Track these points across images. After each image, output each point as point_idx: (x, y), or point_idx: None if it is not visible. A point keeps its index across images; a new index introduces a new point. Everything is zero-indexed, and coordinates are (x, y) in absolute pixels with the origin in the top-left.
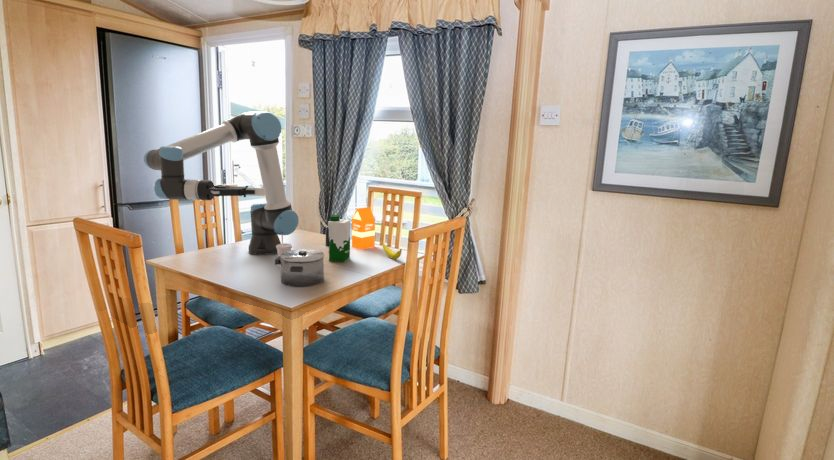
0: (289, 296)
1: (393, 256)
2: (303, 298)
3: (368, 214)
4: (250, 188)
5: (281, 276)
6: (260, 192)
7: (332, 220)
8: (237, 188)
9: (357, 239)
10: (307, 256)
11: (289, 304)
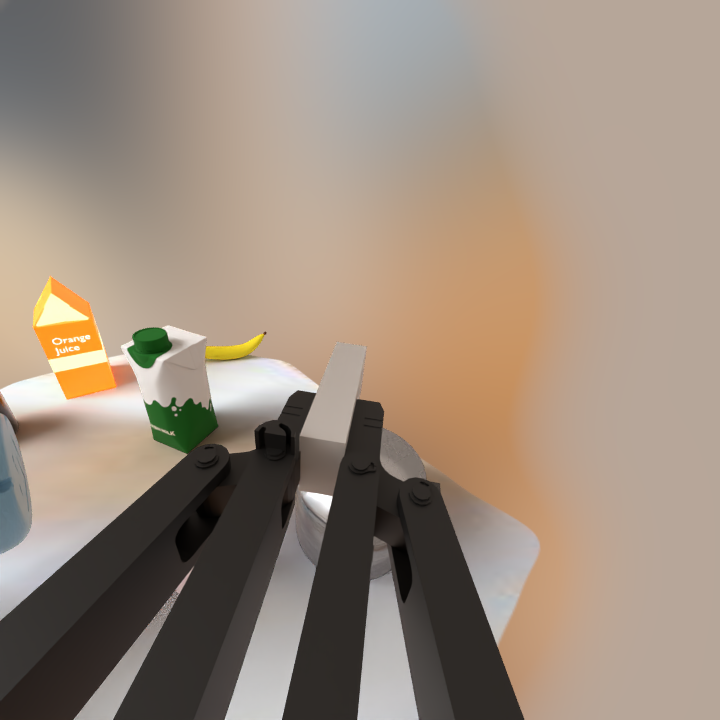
0: (484, 547)
1: (246, 352)
2: (488, 514)
3: (73, 297)
4: (351, 414)
5: (378, 567)
6: (360, 386)
7: (162, 349)
8: (360, 541)
9: (88, 372)
10: (384, 456)
11: (535, 544)
